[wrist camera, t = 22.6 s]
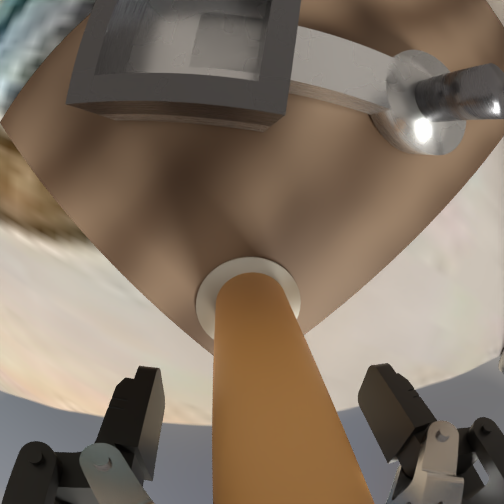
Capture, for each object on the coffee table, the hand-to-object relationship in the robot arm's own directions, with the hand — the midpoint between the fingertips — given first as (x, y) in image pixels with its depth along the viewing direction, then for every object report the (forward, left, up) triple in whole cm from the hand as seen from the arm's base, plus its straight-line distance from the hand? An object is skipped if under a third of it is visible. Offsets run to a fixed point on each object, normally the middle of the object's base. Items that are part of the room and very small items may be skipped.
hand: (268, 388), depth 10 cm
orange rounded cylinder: (0, 0, -7) cm, 7 cm away
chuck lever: (+8, -11, -7) cm, 15 cm away
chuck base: (+8, -15, -8) cm, 19 cm away
